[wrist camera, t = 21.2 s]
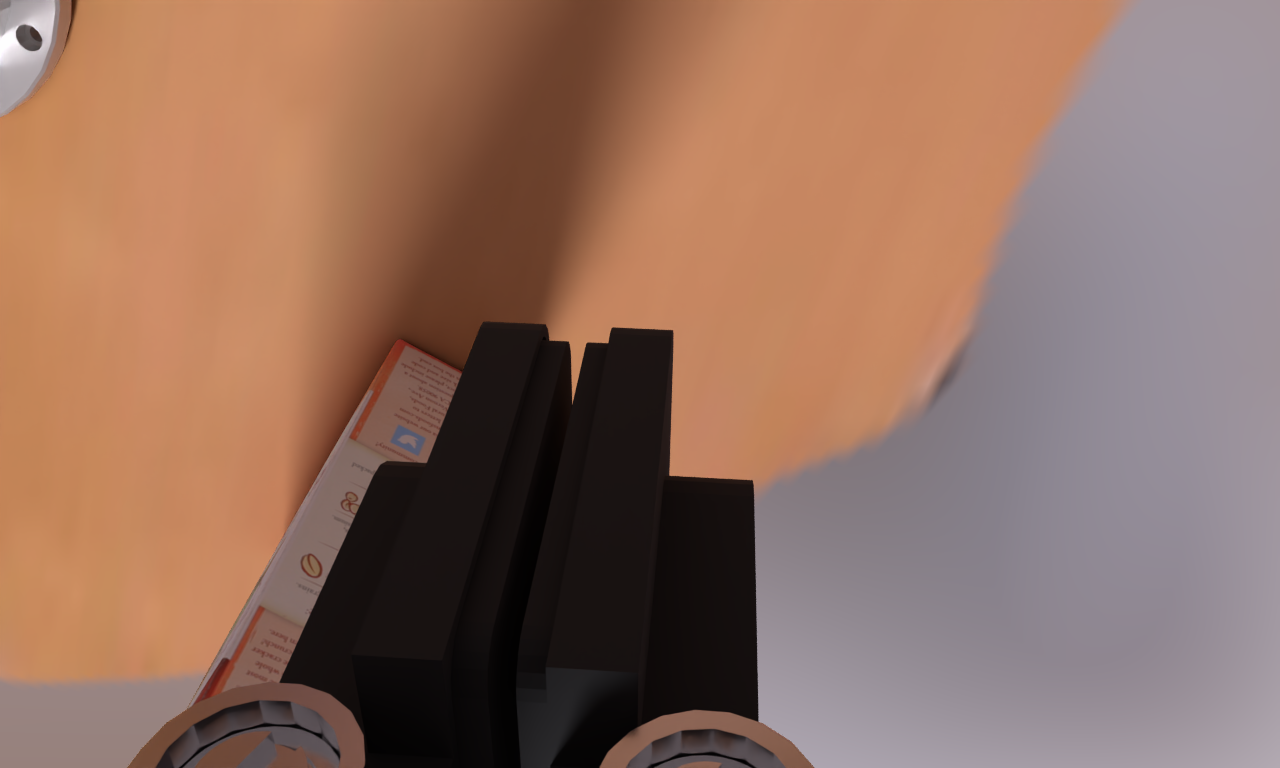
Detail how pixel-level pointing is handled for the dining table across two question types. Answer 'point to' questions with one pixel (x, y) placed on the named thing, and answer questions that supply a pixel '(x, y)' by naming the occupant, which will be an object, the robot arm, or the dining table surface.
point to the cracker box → (332, 515)
